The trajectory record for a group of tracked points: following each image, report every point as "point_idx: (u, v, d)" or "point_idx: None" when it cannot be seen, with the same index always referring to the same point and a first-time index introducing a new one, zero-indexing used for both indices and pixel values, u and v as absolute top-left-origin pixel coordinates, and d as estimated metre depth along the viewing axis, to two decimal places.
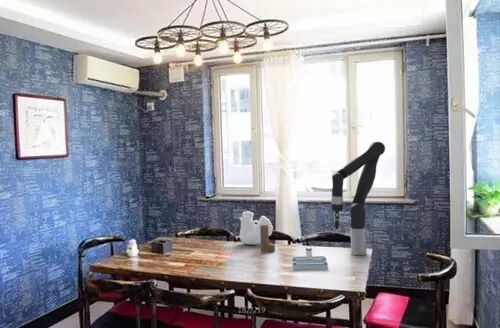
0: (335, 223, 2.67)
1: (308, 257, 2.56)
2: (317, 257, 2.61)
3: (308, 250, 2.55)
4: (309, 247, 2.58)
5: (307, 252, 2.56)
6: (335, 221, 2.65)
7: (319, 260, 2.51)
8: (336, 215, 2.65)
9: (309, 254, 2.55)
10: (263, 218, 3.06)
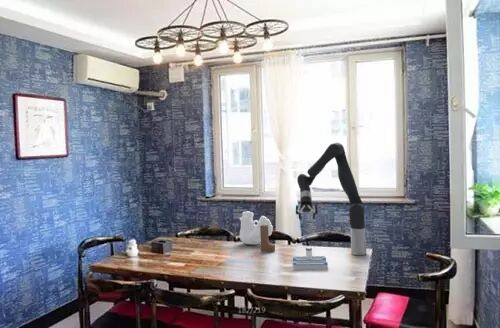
0: None
1: (308, 257, 2.56)
2: (317, 257, 2.61)
3: (308, 250, 2.55)
4: (309, 247, 2.58)
5: (307, 252, 2.56)
6: None
7: (319, 260, 2.51)
8: None
9: (309, 254, 2.55)
10: (263, 218, 3.06)
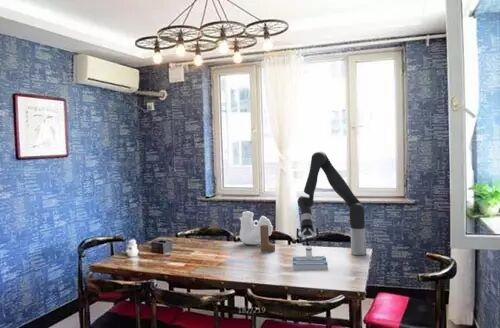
0: None
1: (308, 257, 2.56)
2: (317, 257, 2.61)
3: (308, 250, 2.55)
4: (309, 247, 2.58)
5: (307, 252, 2.56)
6: None
7: (319, 260, 2.51)
8: None
9: (309, 254, 2.55)
10: (263, 218, 3.06)
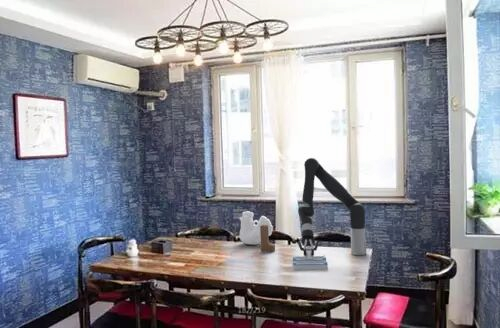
0: None
1: (308, 257, 2.56)
2: (317, 257, 2.61)
3: (308, 250, 2.55)
4: (309, 247, 2.58)
5: (307, 252, 2.56)
6: (300, 249, 2.60)
7: (319, 260, 2.51)
8: (298, 244, 2.62)
9: (309, 254, 2.55)
10: (263, 218, 3.06)
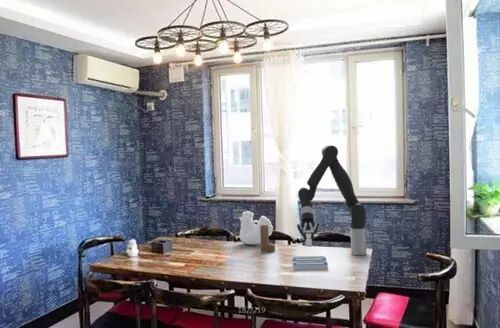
0: None
1: (308, 240, 2.46)
2: (317, 257, 2.61)
3: (308, 233, 2.46)
4: (309, 230, 2.48)
5: (307, 235, 2.46)
6: (300, 232, 2.50)
7: (319, 260, 2.51)
8: (297, 227, 2.52)
9: (309, 237, 2.46)
10: (263, 218, 3.06)
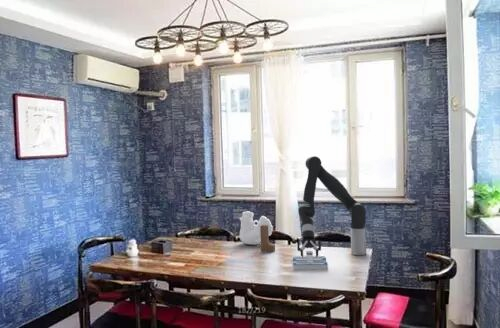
0: None
1: (309, 261, 2.46)
2: (317, 257, 2.61)
3: (309, 254, 2.46)
4: (310, 251, 2.48)
5: (308, 256, 2.46)
6: (297, 249, 2.51)
7: (319, 260, 2.51)
8: None
9: (310, 258, 2.46)
10: (263, 218, 3.06)
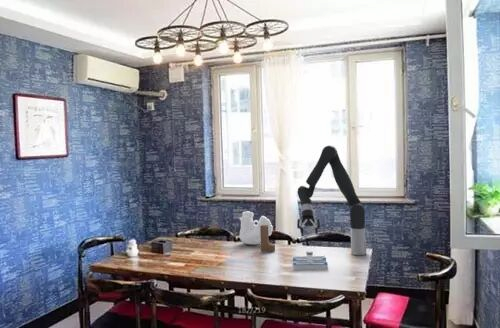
0: None
1: (309, 261, 2.46)
2: (317, 257, 2.61)
3: (309, 254, 2.46)
4: (310, 251, 2.48)
5: (308, 256, 2.46)
6: (297, 227, 2.63)
7: (319, 260, 2.51)
8: (297, 221, 2.65)
9: (310, 258, 2.46)
10: (263, 218, 3.06)
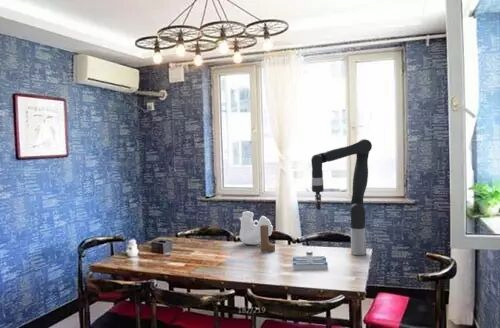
0: (317, 204, 2.70)
1: (309, 261, 2.46)
2: (317, 257, 2.61)
3: (309, 254, 2.46)
4: (310, 251, 2.48)
5: (308, 256, 2.46)
6: (317, 202, 2.68)
7: (319, 260, 2.51)
8: (317, 196, 2.68)
9: (310, 258, 2.46)
10: (263, 218, 3.06)
